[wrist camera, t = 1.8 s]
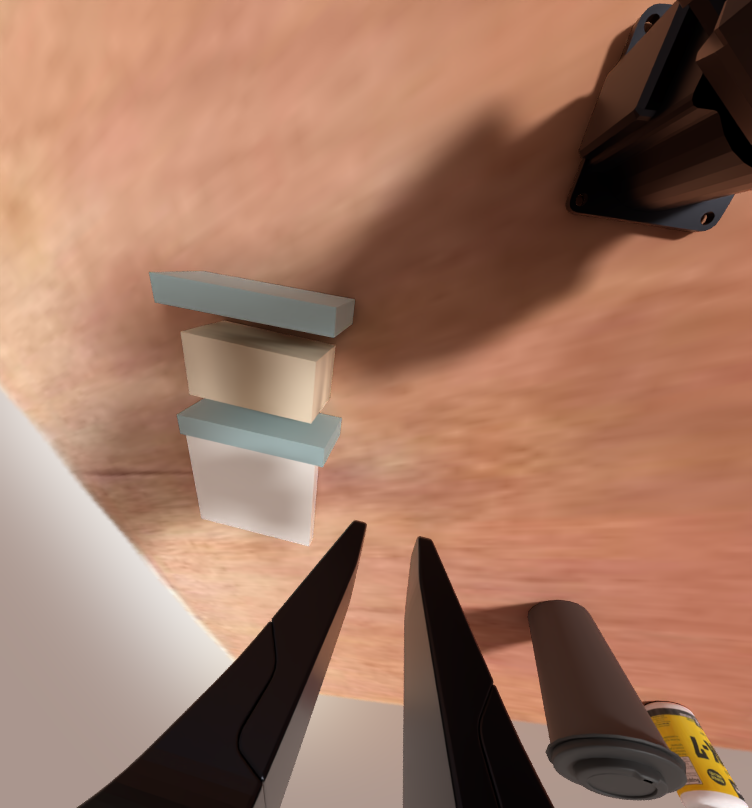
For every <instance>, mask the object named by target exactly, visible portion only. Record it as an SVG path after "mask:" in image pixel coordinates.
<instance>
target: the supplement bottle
mask: <svg viewBox="0 0 752 808" xmlns="http://www.w3.org/2000/svg"><path fill="white" fill-rule="evenodd" d="M644 707H645V709H646V710H647V712H648V714H649V715H650V717H651V719H652V721H653V722H654V724H655V726H656V727H657V729H658V731H659V732H660V734H661V736H662V737H663V739H664V741H665V743H666V744H667V746H668V748H669V749H670V750H671V751H673V752H674V753H676V754H678V755H679V756H680V757H681V759H682V760H683V761H684V762H685V763H686V777H687V783H686V784H685V786H684V787H682V788H681V789H679V790H677V793H678V795H679V797H680V799H681V801H682V803H683V804H684V806H685V807H686V808H748V806H747V804H746V802H745V800H744V798H743V797H742V795H741V793H740V792H739V790H738V788H737V787H736V785H735V783H734V782H733V780H732V778H731V777H730V775H729V773H728V772H727V770H726V768H725V767H724V765H723V763H722V762H721V760H720V758H719V756H718V755H717V753H716V751H715V750H714V748H713V746H712V745H711V743H710V741H709V740H708V738H707V736H706V735H705V733H704V731H703V730H702V728H701V726H700V724H699V723H698V721H697V719H696V718H695V716H694V715H693V713H692V712H691V711H690V710H689V709H687V708H686V707H684V706H681V705H679V704H676V703H671V702H654V703H650V704H647V705H645V706H644Z"/></svg>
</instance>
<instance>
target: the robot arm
mask: <svg viewBox="0 0 752 808" xmlns="http://www.w3.org/2000/svg"><path fill="white" fill-rule="evenodd" d="M645 22H650V23H652V27H651V28H650V29H649V31H648V32H647V33H646V32H645V31H644V24H645ZM579 154H580V158H583V159H582V161H581V164H580V167H579V169H578V172H577V175H576V177H575V180H574V182H573V185H572V188H571V190H570V193H569V196H568V198H567V202H566V208H567V210H568V212H570V213H572V214H577V215H584V216H590V217H597V218H604V219H610V220H617V221H623V222H630V223H636V224H643V225H649V226H656V227H663V228H669V229H676V230H682V231H689V232H700V231H706V230H708V229H711V228H712V227H713V226H715V225H716V224H717V222H718V221H719V220H720V218H721V217H722V215H723V213H724V212H725V210H726V208H727V207H728V205H729V203H730V202H731V200H732V198H733V197H734V195H735V194H737V193H741V192H745V191H750V190H752V0H677V1H676V2H675V3H674V4H673V5H670V4H655V5H653V6H651V7H649V8H648V9H647V10H646V11H645V12H644V13H643V14H642V16H641V17H640V18H639V19H638V20H637V21H636V23H635V24H634V26H633V28H632V30H631V33H630V35H629V38H628V40H627V43H626V46H625V48H624V51H623V54H622V56H621V59H620V61H619V63H618V64H617V65H616V66H615V67H614V68H613V69H612V70H611V71H610V72H609V73H608V75H607V76H606V79H605V81H604V84H603V87H602V90H601V92H600V95H599V98H598V100H597V103H596V106H595V108H594V111H593V114H592V116H591V119H590V122H589V124H588V127H587V130H586V133H585V135H584V138H583V141H582V143H581V146H580V149H579ZM578 195H582V196H583V198H584V201H583V203H582V205H581V206H577V205H576V198H577V196H578ZM704 214H706V215H707V219H706V221H705V222H704V223H703V224H701V222H700V220H701V217H702V216H703V215H704ZM366 527H367V524H366V523H365V522H361V521H357V520H355V521H353V522H352V523H351V524H350V525H349V527H348V528H347V529H346V530H345V531H344V533H343V534H342V535H341V536H340V537H339V539H338V540H337V541H336V542H335V543H334V545H333V546H332V547H331V548H330V549H329V551H328V552H327V553H326V554H325V555H324V557H323V558H322V559H321V560H320V561H319V563H318V564H317V565H316V566H315V567H314V569H313V570H312V571H311V572H310V573H309V575H308V576H307V577H306V578H305V579H304V581H303V582H302V583H301V584H300V585H299V587H298V588H297V589H296V590H295V591H294V593H293V594H292V595H291V596H290V597H289V599H288V600H287V601H286V602H285V603H284V605H283V606H282V607H281V608H280V609H279V611H278V612H277V613H276V614H275V615H274V617H273V618H272V622H271V621H270V622H268V624H267V625H266V626H265V627H264V628H263V630H262V631H261V632H260V633H259V634H258V636H257V637H256V638H255V639H254V640H253V641H252V642H251V644H250V645H249V646H248V647H247V648H246V649H245V650H244V652H243V653H242V654H241V655H240V656H239V657H238V658H237V659H236V660H235V661H234V663H233V664H232V665H231V666H230V667H229V668H228V669H227V670H226V671H225V672H224V673H223V674H222V675H221V676H220V677H219V678H218V679H217V680H216V681H215V682H214V683H213V684H212V685H211V686H210V687H209V688H208V689H207V690H206V691H205V693H203V694H202V695H201V696H200V697H199V699H197V700H196V701H195V702H194V703H193V704H192V705H191V706H190V707H189V708H188V709H187V710H186V711H185V712H184V713H183V714H182V715H181V716H180V717H179V718H178V719H177V720H176V721H175V722H174V723H173V724H172V725H171V726H170V727H169V728H168V729H167V730H166V731H165V732H164V733H163V734H162V735H161V736H160V737H159V738H158V739H157V740H156V741H155V742H154V743H153V744H152V745H151V746H150V747H149V748H148V749H147V750H146V751H145V752H144V753H143V754H142V755H141V756H140V757H139V758H137V759H136V760H135V761H134V762H133V763H132V764H131V765H130V766H129V767H128V768H126V769H125V770H124V771H123V772H122V773H121V774H119V776H117V777H116V778H115V779H114V780H113V781H112V782H110V783H109V784H108V785H106V786H105V787H104V788H103V789H101V790H100V791H99V792H98V793H96V794H95V795H94V796H92V797H91V798H89V799H88V800H87V801H85V802H84V803H83V804H81V805H80V806H78V807H77V808H280V806H281V803H282V799H283V797H284V794H285V791H286V788H287V785H288V782H289V779H290V776H291V773H292V771H293V768H294V765H295V762H296V759H297V756H298V753H299V750H300V747H301V744H302V741H303V738H304V735H305V732H306V729H307V726H308V724H309V721H310V718H311V715H312V711H313V709H314V706H315V703H316V700H317V697H318V694H319V691H320V688H321V686H322V683H323V680H324V677H325V674H326V671H327V668H328V665H329V662H330V659H331V656H332V653H333V650H334V647H335V645H336V642H337V639H338V636H339V633H340V630H341V627H342V624H343V621H344V618H345V615H346V612H347V609H348V606H349V603H350V599H351V595H352V591H353V587H354V582H355V578H356V573H357V569H358V564H359V560H360V556H361V551H362V547H363V542H364V537H365V532H366ZM403 727H404V728H403V729H404V730H403V732H404V733H403V808H554V806H553V804H552V802H551V800H550V798H549V797H548V795H547V793H546V791H545V789H544V787H543V785H542V783H541V781H540V779H539V777H538V775H537V773H536V771H535V769H534V767H533V765H532V763H531V761H530V759H529V757H528V755H527V753H526V751H525V749H524V747H523V745H522V743H521V741H520V739H519V737H518V735H517V732H516V730H515V728H514V726H513V724H512V721H511V719H510V717H509V715H508V713H507V711H506V708H505V706H504V704H503V702H502V699H501V697H500V695H499V692H498V690H497V688H496V686H495V685H493V679H492V677H491V674H490V672H489V670H488V667H487V665H486V663H485V660H484V658H483V656H482V654H481V651H480V649H479V647H478V644H477V642H476V640H475V637H474V635H473V633H472V631H471V628H470V626H469V624H468V621H467V619H466V617H465V615H464V612H463V610H462V608H461V605H460V603H459V601H458V598H457V596H456V594H455V592H454V589H453V587H452V585H451V582H450V580H449V578H448V576H447V573H446V571H445V569H444V566H443V564H442V562H441V559H440V557H439V555H438V553H437V550H436V548H435V546H434V543H433V541H432V540H431V539H429V538H425V537H421V536H419V537H418V538H417V540H416V543H415V546H414V549H413V552H412V556H411V562H410V570H409V579H408V588H407V597H406V606H405V620H404V725H403Z"/></svg>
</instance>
